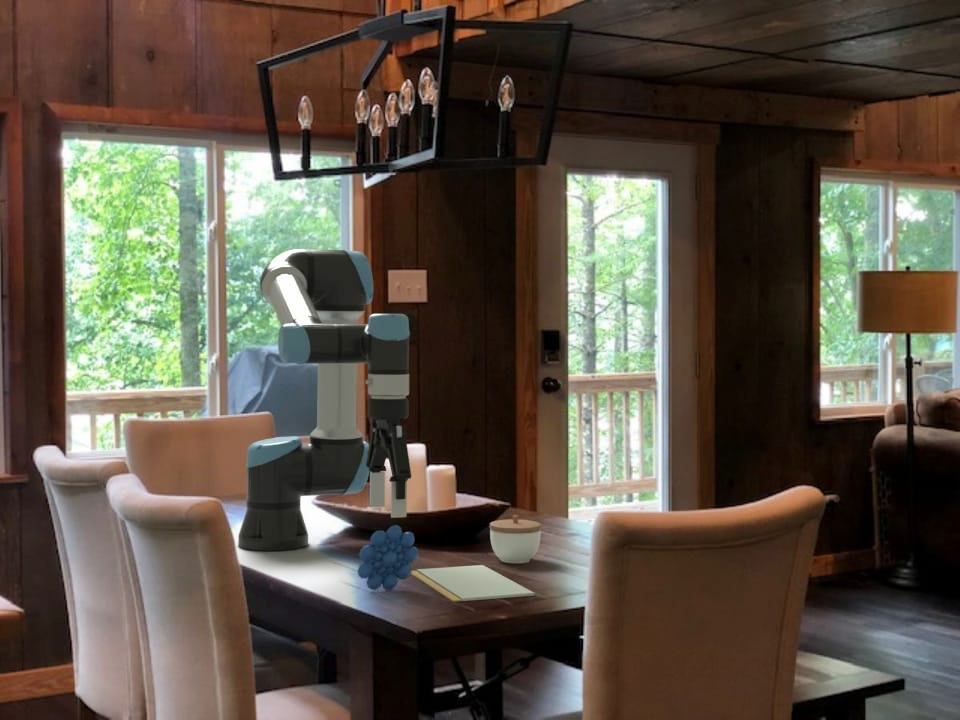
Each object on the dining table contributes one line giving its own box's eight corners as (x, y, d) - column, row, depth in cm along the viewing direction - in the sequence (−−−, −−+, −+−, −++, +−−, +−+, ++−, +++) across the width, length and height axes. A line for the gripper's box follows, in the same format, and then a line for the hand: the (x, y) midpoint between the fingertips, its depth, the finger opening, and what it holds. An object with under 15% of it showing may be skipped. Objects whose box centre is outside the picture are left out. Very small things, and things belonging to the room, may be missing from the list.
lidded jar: (541, 566, 254) (542, 520, 254) (489, 565, 255) (489, 519, 254) (540, 555, 265) (540, 512, 265) (489, 555, 265) (490, 511, 265)
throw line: (408, 572, 247) (408, 571, 247) (415, 572, 247) (415, 570, 247) (453, 601, 222) (453, 600, 222) (460, 601, 223) (461, 599, 223)
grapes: (410, 583, 237) (411, 520, 237) (422, 590, 231) (422, 526, 231) (351, 587, 233) (351, 523, 233) (361, 595, 227) (362, 529, 226)
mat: (416, 571, 247) (416, 569, 247) (482, 567, 252) (482, 565, 252) (462, 601, 223) (462, 598, 223) (534, 595, 228) (534, 592, 228)
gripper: (350, 393, 241) (350, 503, 241) (388, 401, 218) (387, 522, 218) (388, 393, 244) (387, 501, 244) (429, 400, 220) (428, 520, 221)
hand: (387, 511), depth 231 cm, fingers open, 13 cm apart
